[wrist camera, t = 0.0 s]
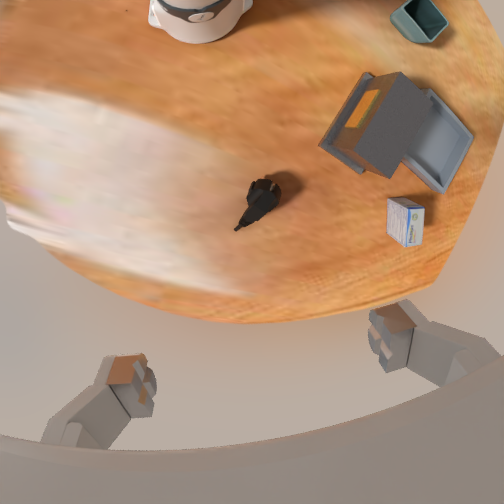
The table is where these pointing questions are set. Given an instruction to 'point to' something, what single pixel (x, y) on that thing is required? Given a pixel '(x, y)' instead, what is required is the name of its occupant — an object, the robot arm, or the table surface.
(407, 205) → the medicine box
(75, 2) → the table surface
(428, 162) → the tray
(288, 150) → the table surface
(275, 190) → the power plug
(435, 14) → the flower pot
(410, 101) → the box
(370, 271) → the table surface
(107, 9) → the table surface
